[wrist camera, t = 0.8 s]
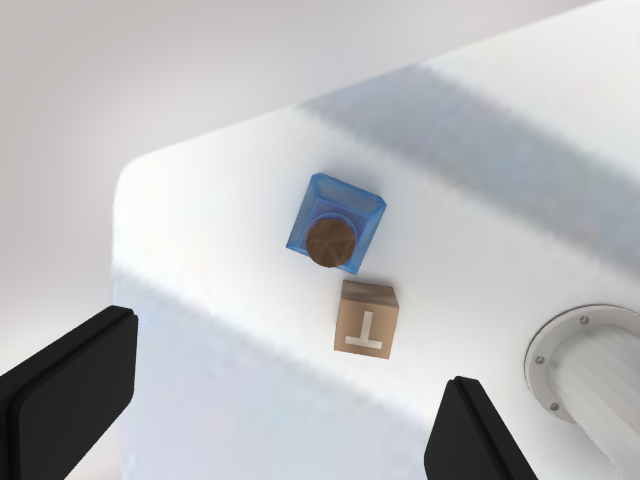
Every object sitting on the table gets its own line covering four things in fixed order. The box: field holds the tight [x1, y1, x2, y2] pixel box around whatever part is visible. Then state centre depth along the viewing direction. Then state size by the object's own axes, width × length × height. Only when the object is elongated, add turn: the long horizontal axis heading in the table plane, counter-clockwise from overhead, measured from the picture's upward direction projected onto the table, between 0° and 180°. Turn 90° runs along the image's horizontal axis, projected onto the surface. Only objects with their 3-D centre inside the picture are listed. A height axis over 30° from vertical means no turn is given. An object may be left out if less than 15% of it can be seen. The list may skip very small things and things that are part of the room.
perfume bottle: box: [286, 173, 386, 275], centre depth 28 cm, size 6×6×12 cm
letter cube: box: [334, 280, 399, 359], centre depth 33 cm, size 5×5×5 cm
